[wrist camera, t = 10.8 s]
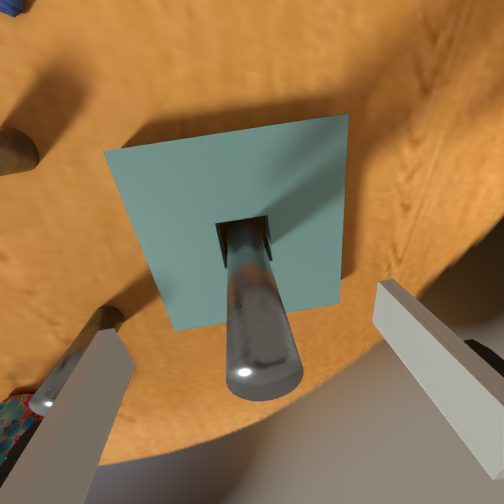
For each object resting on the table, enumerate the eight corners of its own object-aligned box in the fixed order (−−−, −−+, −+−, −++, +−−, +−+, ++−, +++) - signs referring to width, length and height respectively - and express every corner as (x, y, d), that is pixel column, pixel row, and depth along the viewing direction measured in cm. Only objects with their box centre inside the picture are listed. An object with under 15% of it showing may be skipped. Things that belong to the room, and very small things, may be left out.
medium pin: (89, 308, 26) (19, 398, 18) (117, 304, 26) (62, 390, 18) (101, 329, 28) (42, 421, 19) (128, 324, 28) (82, 414, 19)
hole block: (119, 148, 19) (102, 151, 17) (332, 115, 20) (348, 113, 17) (180, 312, 28) (175, 331, 25) (328, 287, 28) (339, 303, 25)
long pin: (224, 218, 23) (219, 358, 9) (256, 213, 23) (302, 344, 9) (230, 247, 25) (233, 406, 10) (260, 242, 25) (304, 393, 10)
